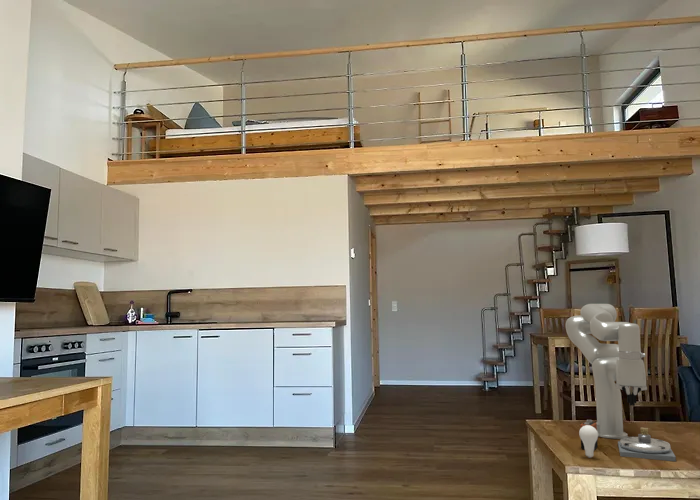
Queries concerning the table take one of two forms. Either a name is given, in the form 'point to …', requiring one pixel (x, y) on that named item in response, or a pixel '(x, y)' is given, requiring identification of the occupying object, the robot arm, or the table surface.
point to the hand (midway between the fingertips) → (631, 404)
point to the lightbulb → (588, 439)
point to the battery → (592, 426)
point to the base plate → (646, 454)
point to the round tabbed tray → (645, 443)
